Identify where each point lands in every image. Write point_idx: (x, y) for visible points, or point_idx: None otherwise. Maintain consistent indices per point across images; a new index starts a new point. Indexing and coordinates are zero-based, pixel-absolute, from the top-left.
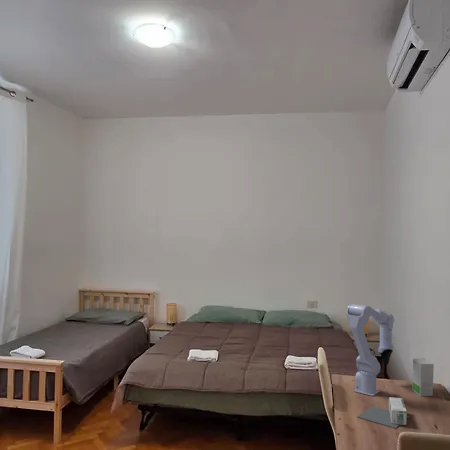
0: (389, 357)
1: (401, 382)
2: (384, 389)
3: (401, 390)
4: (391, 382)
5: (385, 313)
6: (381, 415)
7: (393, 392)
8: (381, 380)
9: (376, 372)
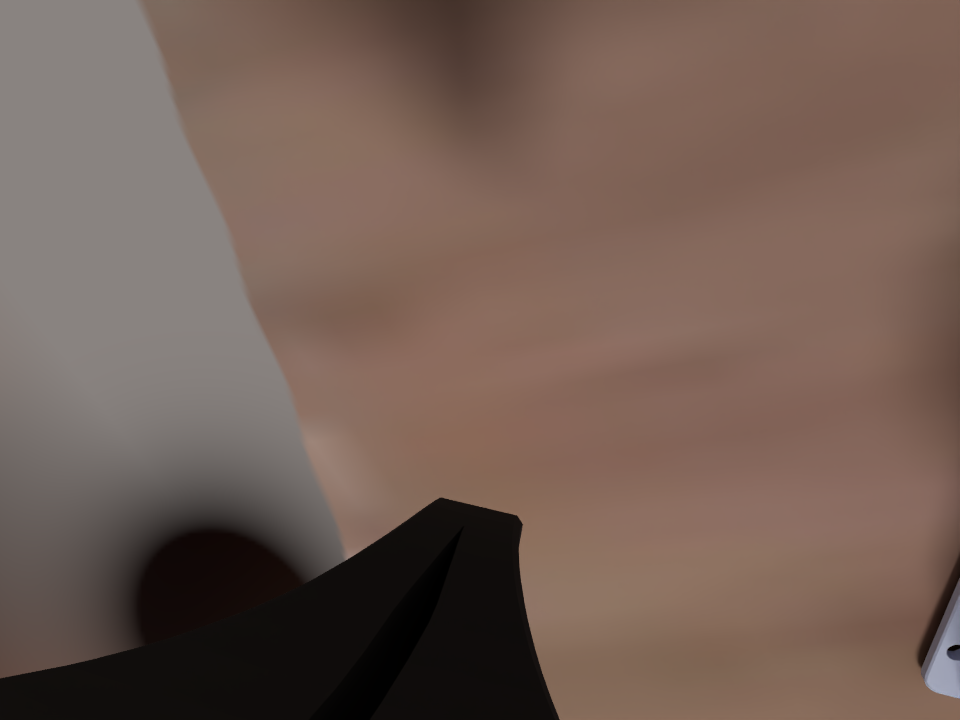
0: (356, 602)
1: (289, 150)
2: (835, 332)
3: (736, 35)
4: (389, 299)
5: None
6: None
7: (944, 147)
8: (388, 453)
9: None
